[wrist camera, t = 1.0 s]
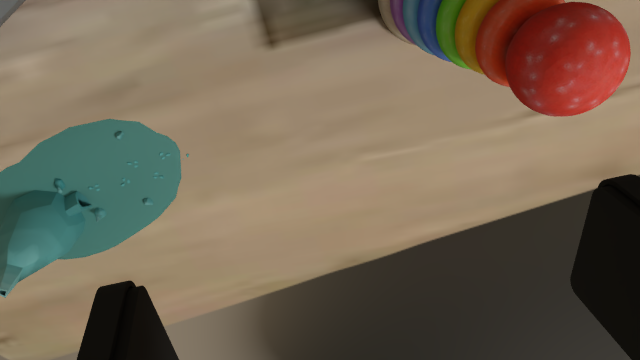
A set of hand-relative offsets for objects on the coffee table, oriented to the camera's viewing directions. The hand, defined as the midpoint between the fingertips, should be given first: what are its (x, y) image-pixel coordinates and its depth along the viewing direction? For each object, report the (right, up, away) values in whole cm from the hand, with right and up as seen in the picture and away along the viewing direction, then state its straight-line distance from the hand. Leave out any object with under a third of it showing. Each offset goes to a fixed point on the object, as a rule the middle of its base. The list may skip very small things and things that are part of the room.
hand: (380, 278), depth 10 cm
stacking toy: (+7, +16, +25) cm, 31 cm away
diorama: (-21, +1, +29) cm, 36 cm away
